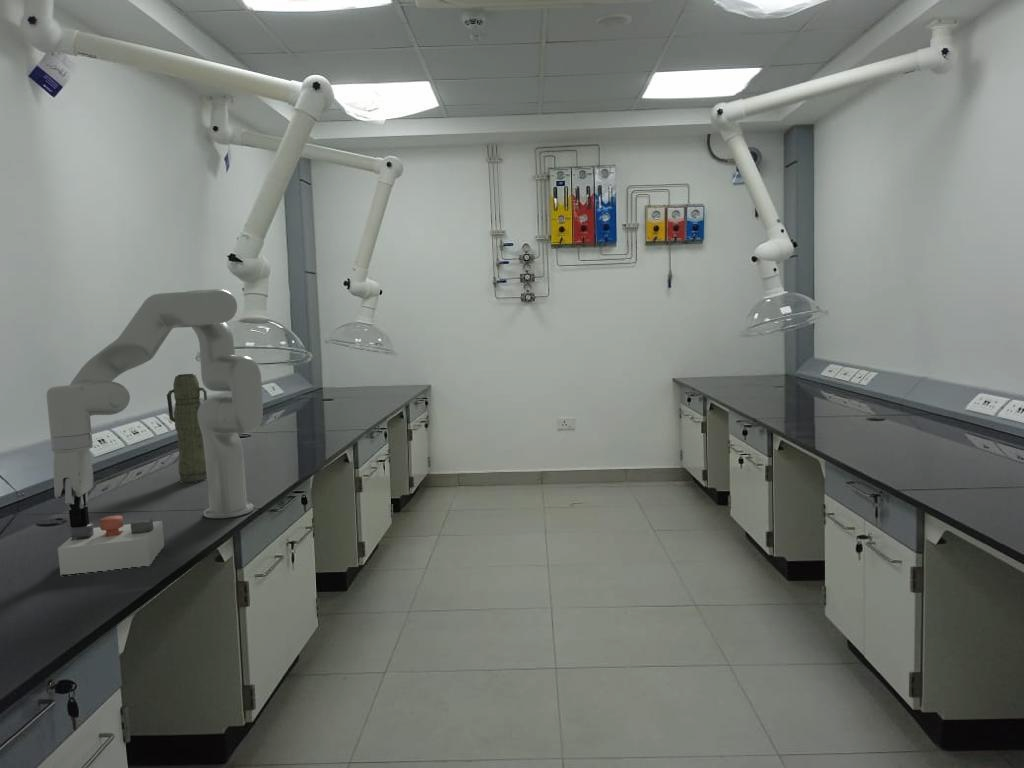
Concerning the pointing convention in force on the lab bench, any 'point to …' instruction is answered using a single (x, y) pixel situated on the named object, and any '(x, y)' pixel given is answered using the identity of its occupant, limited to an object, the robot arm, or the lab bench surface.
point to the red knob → (111, 525)
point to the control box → (111, 550)
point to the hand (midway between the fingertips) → (80, 525)
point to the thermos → (188, 427)
